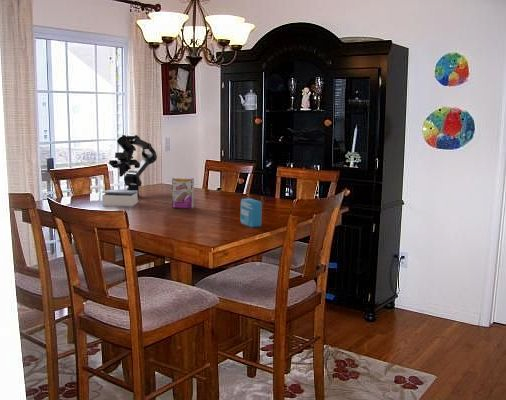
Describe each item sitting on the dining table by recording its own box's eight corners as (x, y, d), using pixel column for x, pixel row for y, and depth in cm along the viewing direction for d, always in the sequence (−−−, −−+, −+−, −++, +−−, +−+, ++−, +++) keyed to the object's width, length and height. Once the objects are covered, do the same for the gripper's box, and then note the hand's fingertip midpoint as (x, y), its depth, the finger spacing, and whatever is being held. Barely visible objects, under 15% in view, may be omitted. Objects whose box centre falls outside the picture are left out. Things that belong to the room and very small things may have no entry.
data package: (240, 223, 252) (240, 198, 250) (248, 222, 255) (248, 197, 253) (253, 228, 242) (253, 202, 240) (261, 227, 244) (262, 201, 243)
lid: (109, 191, 301) (109, 189, 301) (137, 192, 301) (137, 190, 301) (101, 192, 287) (101, 191, 287) (131, 193, 287) (131, 192, 287)
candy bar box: (171, 208, 287) (171, 178, 284) (173, 206, 292) (173, 177, 289) (191, 209, 286) (192, 179, 283) (193, 207, 291) (193, 177, 288)
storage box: (109, 201, 302) (109, 191, 301) (137, 202, 302) (137, 192, 301) (102, 206, 288) (102, 195, 287) (131, 206, 288) (131, 195, 287)
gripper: (107, 146, 312) (99, 169, 306) (134, 146, 305) (126, 169, 299) (117, 156, 322) (110, 178, 316) (143, 155, 315) (136, 178, 308)
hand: (120, 176), depth 309 cm, fingers closed
